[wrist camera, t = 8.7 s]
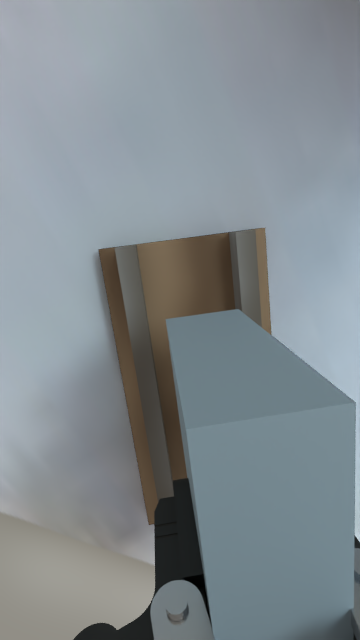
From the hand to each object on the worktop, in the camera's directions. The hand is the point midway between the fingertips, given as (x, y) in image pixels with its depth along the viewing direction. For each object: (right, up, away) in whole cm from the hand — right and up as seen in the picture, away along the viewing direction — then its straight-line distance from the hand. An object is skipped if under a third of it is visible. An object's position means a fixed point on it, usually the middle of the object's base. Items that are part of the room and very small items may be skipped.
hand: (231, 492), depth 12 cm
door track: (-1, +2, +9) cm, 9 cm away
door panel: (0, +1, +3) cm, 3 cm away
